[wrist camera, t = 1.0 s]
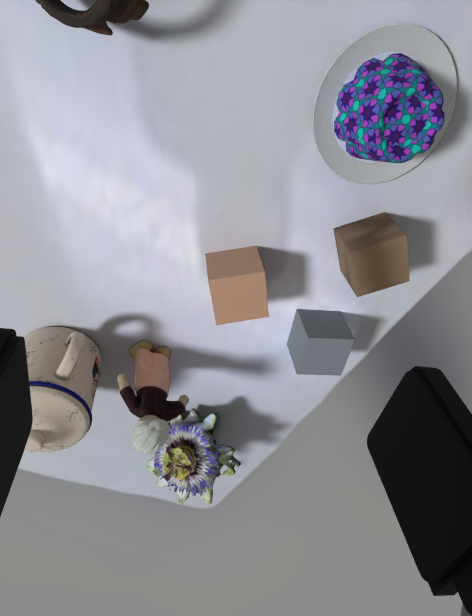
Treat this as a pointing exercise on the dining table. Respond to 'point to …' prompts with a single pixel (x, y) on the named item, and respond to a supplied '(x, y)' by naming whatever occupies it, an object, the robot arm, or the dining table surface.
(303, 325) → the slate grey cube
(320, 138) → the purple patterned hat
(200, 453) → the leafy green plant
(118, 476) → the dining table surface
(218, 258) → the terracotta cube
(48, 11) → the brown curved piece
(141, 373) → the grandmother figurine
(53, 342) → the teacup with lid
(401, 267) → the walnut cube
